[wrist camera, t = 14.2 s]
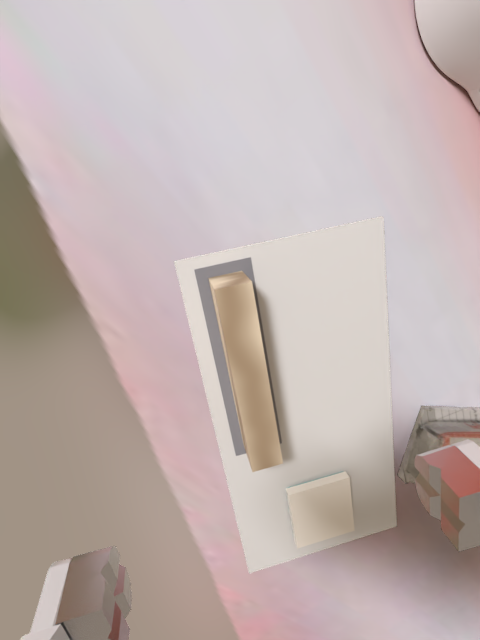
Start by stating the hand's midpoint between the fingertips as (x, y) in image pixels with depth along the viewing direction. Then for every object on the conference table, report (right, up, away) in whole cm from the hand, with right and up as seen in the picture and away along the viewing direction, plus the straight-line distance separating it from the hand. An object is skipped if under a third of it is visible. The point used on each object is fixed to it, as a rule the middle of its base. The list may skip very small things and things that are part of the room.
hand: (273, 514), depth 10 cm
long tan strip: (-1, +1, +27) cm, 27 cm away
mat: (+6, -5, +31) cm, 32 cm away
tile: (+8, -13, +33) cm, 36 cm away
